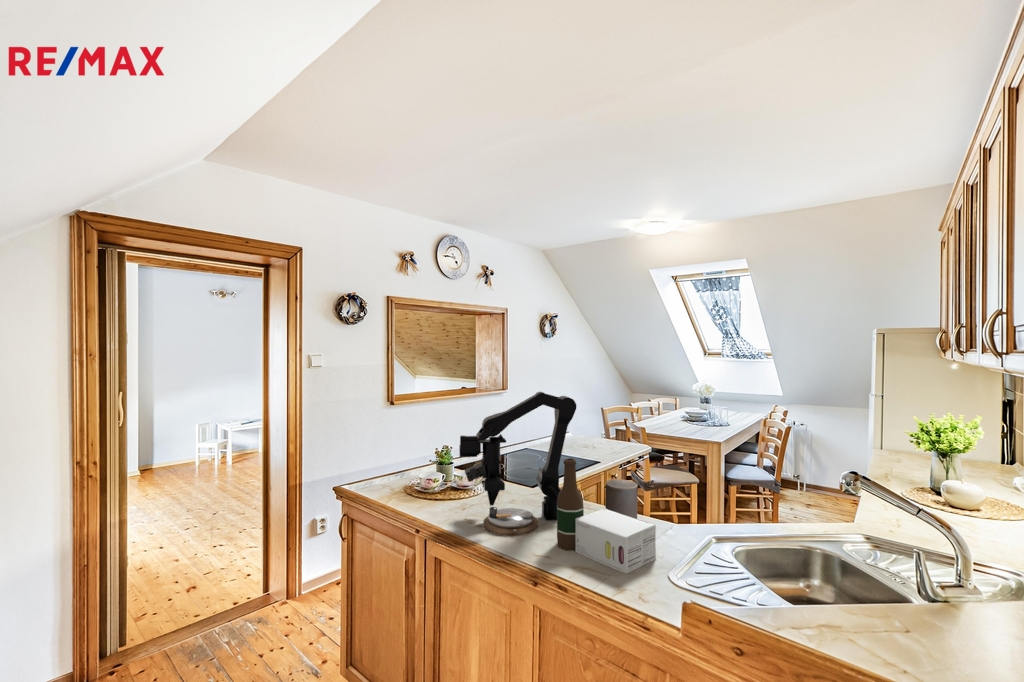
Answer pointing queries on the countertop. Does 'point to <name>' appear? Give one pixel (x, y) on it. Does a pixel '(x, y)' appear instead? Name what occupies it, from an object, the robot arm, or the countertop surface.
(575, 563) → the countertop surface
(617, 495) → the pillar candle
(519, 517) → the dial
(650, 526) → the supplement box
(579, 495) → the beer bottle
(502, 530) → the stand
